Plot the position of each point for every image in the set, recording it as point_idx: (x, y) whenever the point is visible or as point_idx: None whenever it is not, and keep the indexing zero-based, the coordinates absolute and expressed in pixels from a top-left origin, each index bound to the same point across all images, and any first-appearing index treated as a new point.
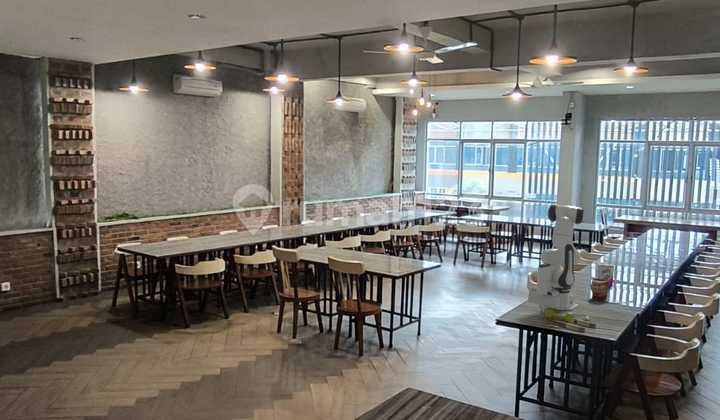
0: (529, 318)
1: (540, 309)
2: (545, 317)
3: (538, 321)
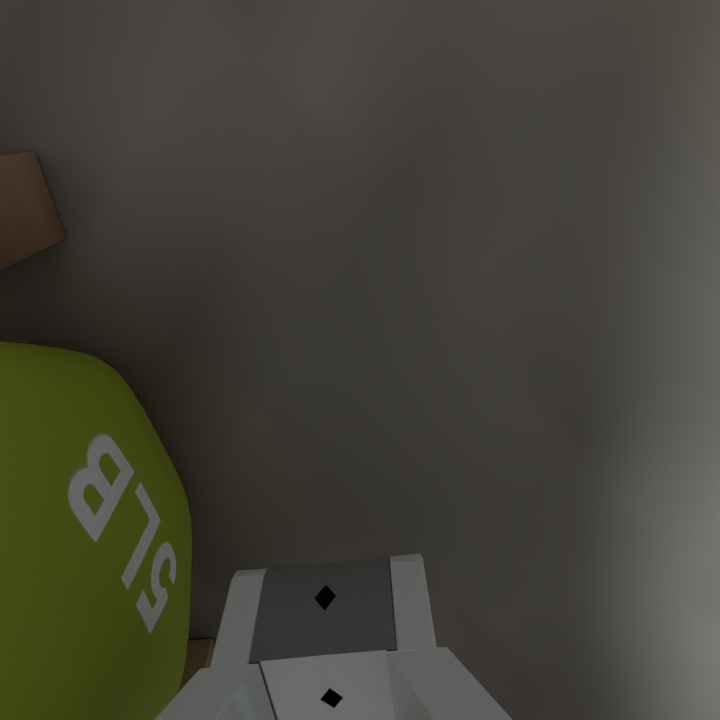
0: (577, 86)
1: (422, 643)
2: (11, 343)
3: (132, 50)
